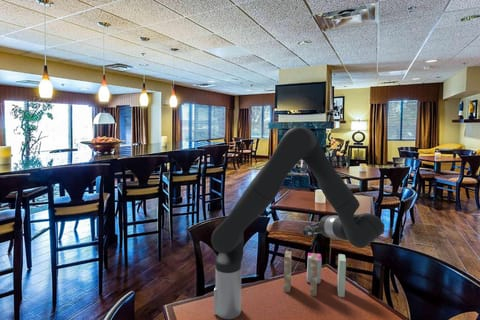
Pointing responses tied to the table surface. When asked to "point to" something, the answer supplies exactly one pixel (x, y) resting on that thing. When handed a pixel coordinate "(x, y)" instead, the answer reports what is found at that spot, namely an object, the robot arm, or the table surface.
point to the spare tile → (341, 275)
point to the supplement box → (317, 268)
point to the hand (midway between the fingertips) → (313, 224)
